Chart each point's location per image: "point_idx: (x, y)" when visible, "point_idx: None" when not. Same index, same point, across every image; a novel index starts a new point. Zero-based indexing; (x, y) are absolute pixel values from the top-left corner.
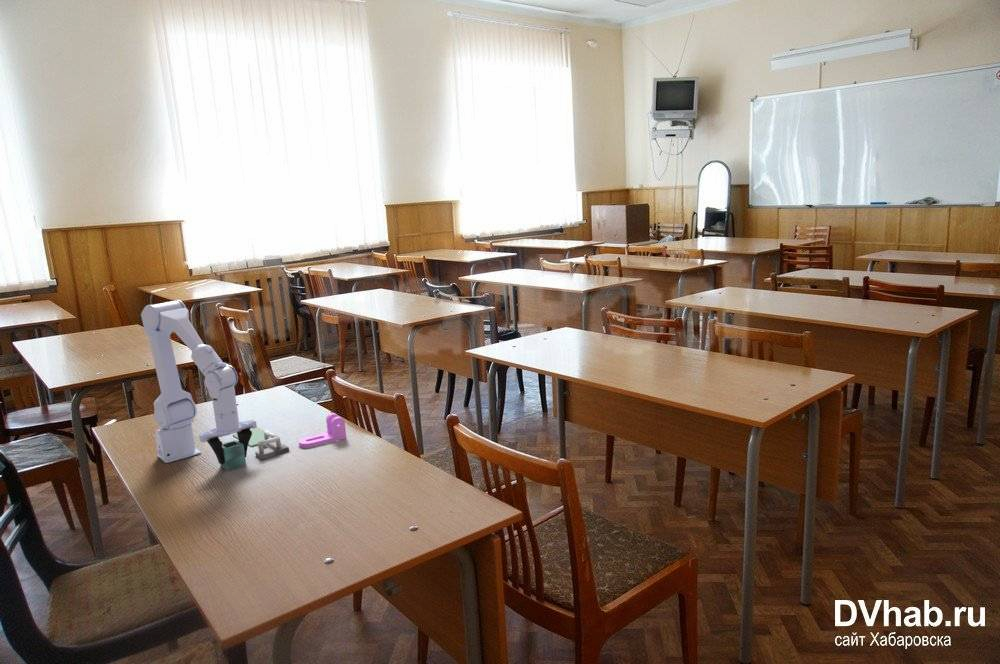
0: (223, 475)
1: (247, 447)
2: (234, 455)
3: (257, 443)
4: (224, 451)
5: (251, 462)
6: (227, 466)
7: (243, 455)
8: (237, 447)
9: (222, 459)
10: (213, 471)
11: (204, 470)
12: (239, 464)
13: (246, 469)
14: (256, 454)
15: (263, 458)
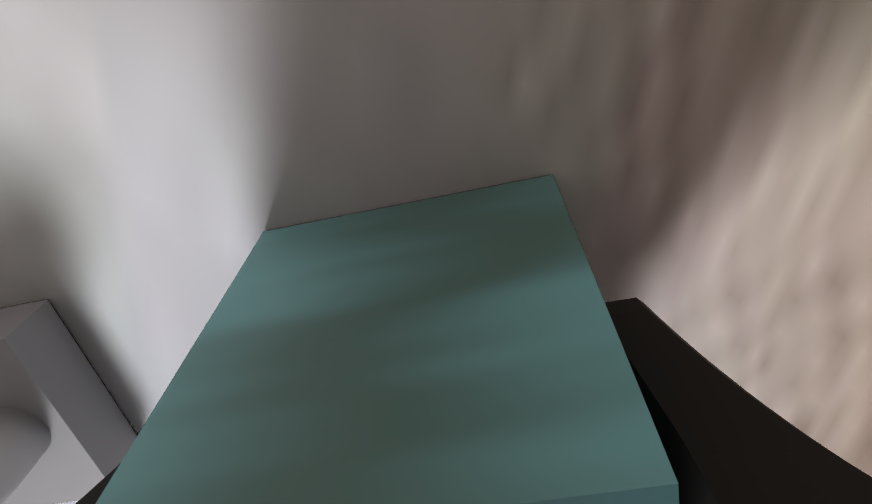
0: (667, 6)
1: (87, 496)
2: (398, 330)
3: None
4: (654, 444)
5: (190, 286)
6: (557, 205)
7: (228, 327)
8: (260, 487)
9: (642, 344)
10: (725, 281)
11: (798, 379)
12: (353, 234)
13: (264, 40)
14: (117, 449)
15: (18, 310)
